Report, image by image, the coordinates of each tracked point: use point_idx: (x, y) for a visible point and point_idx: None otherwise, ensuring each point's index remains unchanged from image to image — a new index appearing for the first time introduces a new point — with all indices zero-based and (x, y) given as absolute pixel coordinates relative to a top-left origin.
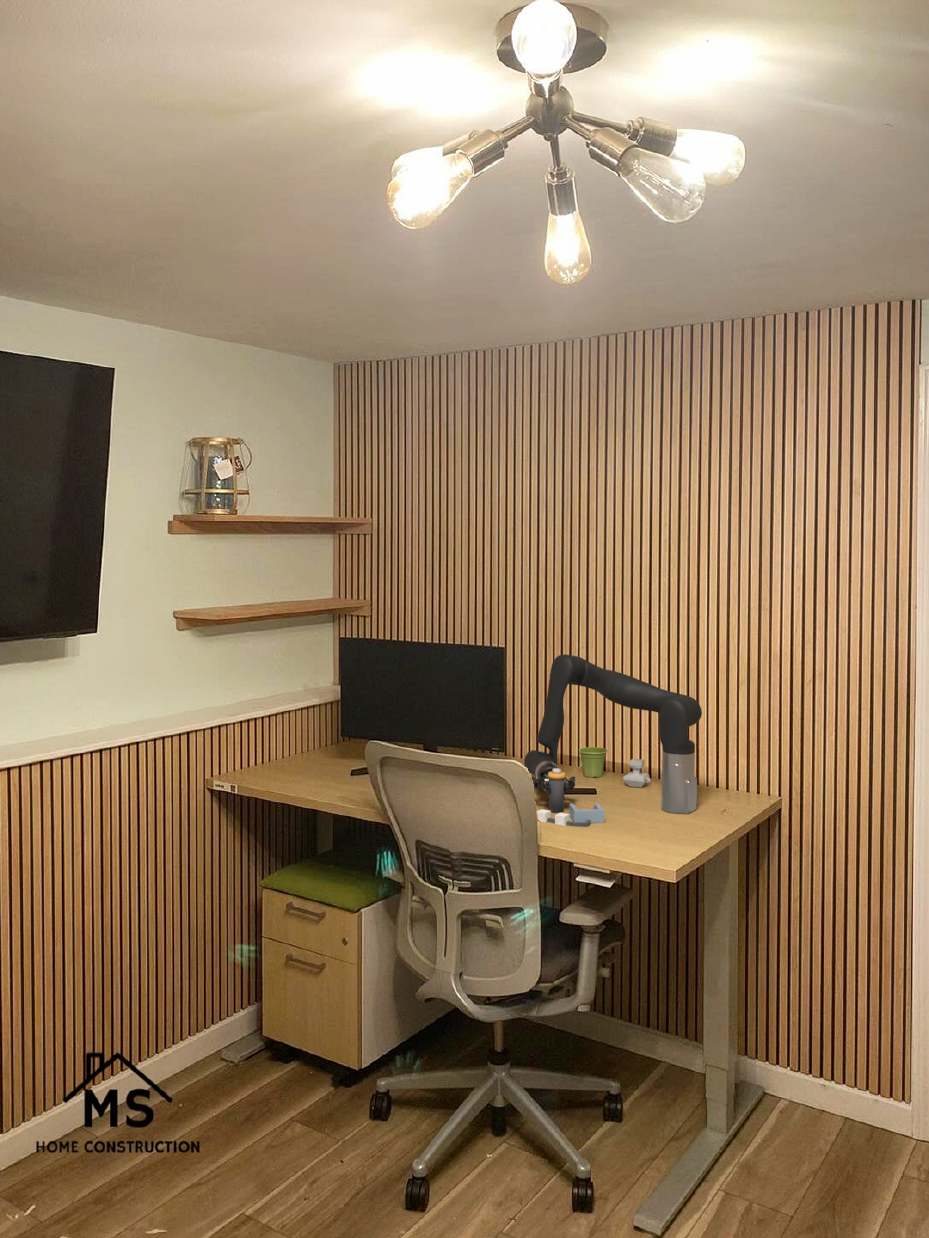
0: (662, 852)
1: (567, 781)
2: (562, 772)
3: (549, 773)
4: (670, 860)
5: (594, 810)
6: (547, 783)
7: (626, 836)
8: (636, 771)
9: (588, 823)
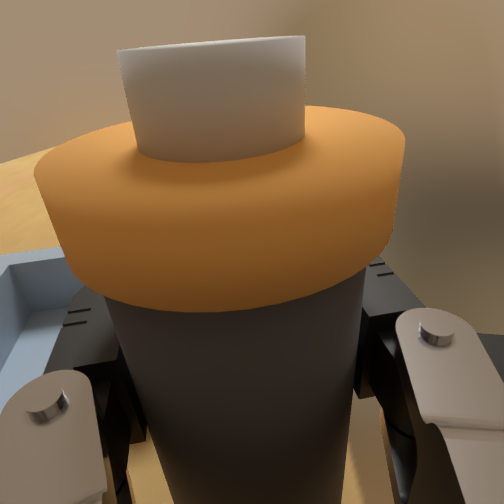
0: (19, 175)
1: (6, 416)
2: (87, 165)
3: (354, 119)
4: (34, 159)
5: (47, 250)
6: (378, 290)
7: (34, 219)
8: None
9: None
